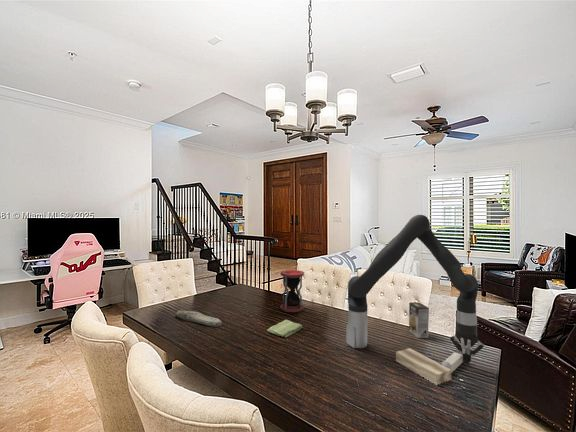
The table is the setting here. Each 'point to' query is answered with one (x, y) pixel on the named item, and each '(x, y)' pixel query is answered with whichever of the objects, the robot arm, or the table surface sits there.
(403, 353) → the rail
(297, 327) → the washcloth
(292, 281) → the hourglass
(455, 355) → the folding leg
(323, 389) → the table surface
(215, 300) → the table surface
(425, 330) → the coffee box
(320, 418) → the table surface
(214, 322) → the elongated rock
